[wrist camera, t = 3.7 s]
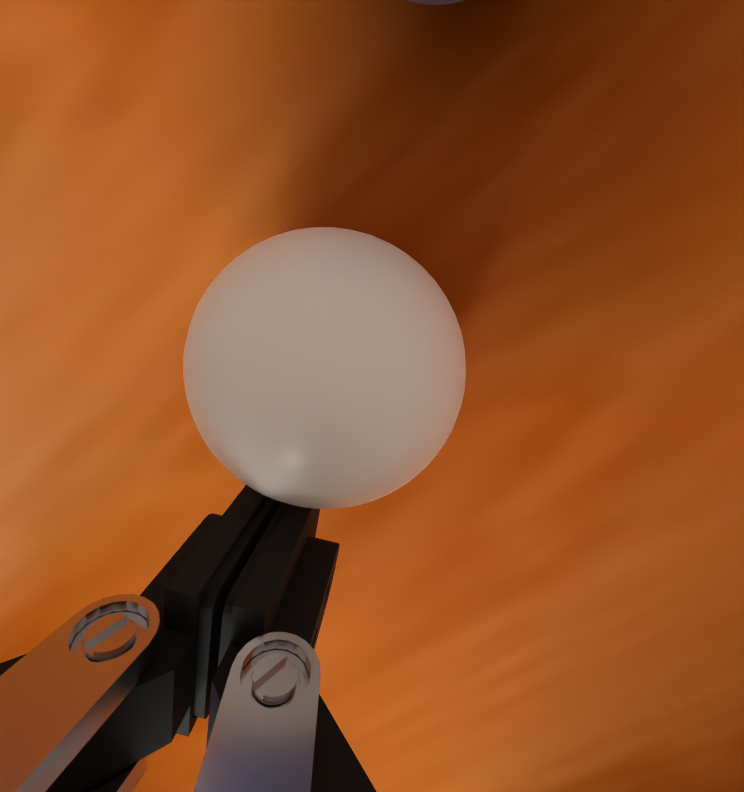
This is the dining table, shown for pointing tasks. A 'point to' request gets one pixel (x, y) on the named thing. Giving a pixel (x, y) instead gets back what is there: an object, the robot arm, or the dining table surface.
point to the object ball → (435, 1)
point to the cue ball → (324, 368)
